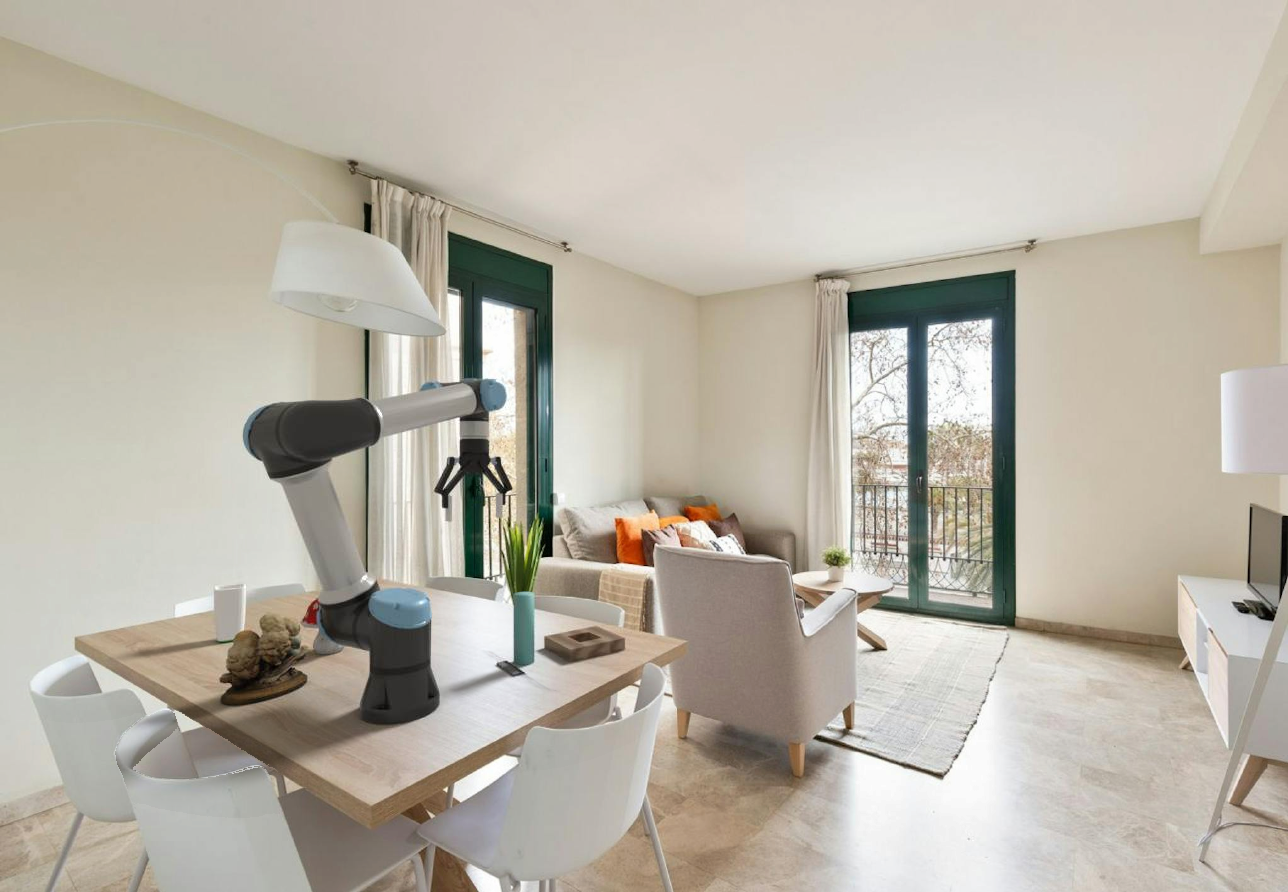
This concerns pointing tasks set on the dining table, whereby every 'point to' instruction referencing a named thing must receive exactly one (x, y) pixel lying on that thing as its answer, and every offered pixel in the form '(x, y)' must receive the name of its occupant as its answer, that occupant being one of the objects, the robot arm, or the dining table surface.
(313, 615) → the decorative mushroom
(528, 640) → the teal peg
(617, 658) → the dining table surface
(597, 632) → the walnut holder
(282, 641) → the brown lumpy sculpture
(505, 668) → the charcoal mat
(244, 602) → the cup
